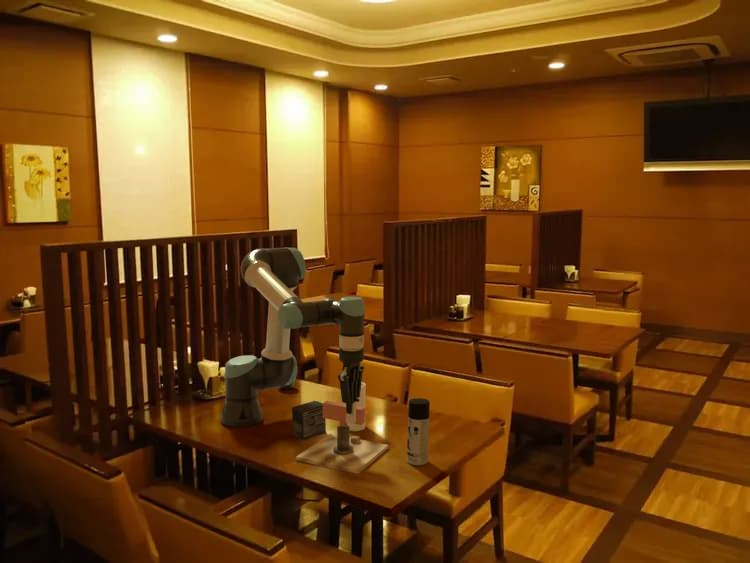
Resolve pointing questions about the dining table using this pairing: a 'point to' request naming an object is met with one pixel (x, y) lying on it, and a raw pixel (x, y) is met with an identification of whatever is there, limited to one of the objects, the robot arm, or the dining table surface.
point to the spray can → (418, 431)
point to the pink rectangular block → (341, 413)
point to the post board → (343, 452)
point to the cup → (361, 404)
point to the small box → (308, 420)
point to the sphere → (288, 385)
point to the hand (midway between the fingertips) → (350, 422)
